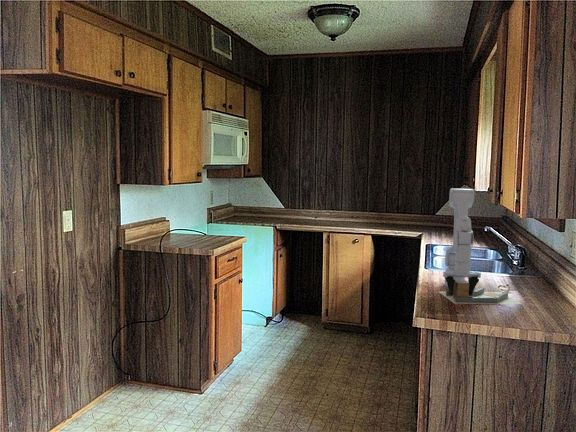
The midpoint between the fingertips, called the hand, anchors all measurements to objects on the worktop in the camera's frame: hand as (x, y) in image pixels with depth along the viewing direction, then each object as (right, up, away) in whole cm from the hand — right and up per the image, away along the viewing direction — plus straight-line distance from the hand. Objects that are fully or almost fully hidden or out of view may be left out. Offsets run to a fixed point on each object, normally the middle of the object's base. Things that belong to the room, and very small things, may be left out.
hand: (460, 295), depth 199 cm
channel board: (+8, -2, +3) cm, 9 cm away
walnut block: (0, -2, 0) cm, 2 cm away
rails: (+8, -2, +3) cm, 9 cm away
